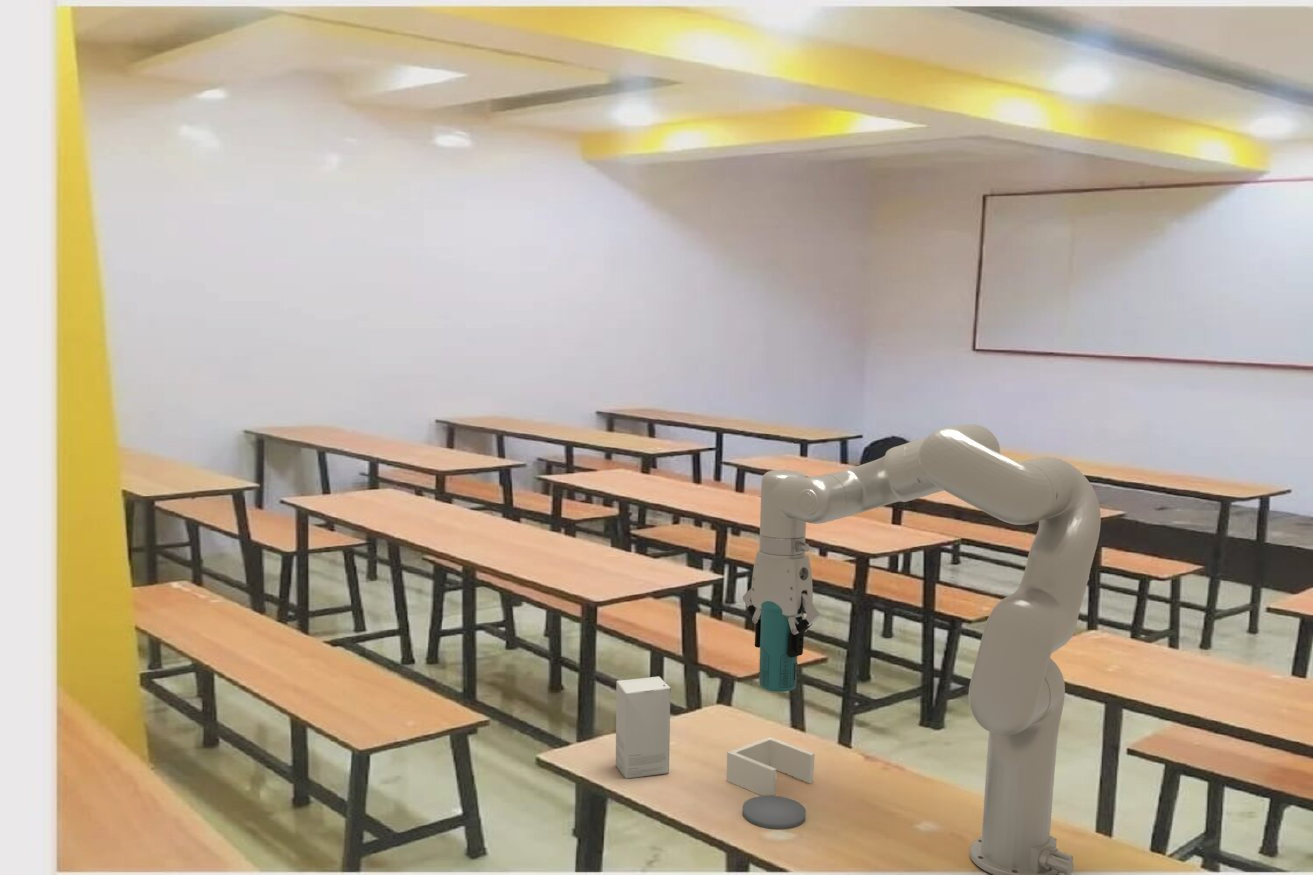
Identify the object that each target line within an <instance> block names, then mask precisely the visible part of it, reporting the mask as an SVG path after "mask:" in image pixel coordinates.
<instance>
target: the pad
mask: <svg viewBox="0 0 1313 875" xmlns="http://www.w3.org/2000/svg"><path fill="white" fill-rule="evenodd" d="M806 814H807V810H806V808H805V806H804V805H803V804H802V803H800V802H799V801H797V800H795V799H792V798H789V797H785V796H781V795H779V796H778V795H775V796H761V795H759V796H755V797H754V796H753V797H751V798H749V799H747V800H745V801H744V803H743V804H742V816H743V818H744V819H745V820H746V821H747V822H749V824H752V825H755V826H757V827H761V828H765V829H771V830H786V829H791V828H792V829H793V828H795V827H796V828H797V827H799V826H801V825H802V824H803V823H804V822H805V821H806V816H807V815H806Z"/></svg>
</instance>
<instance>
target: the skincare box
mask: <svg viewBox="0 0 1313 875" xmlns="http://www.w3.org/2000/svg"><path fill="white" fill-rule="evenodd" d="M615 684H616V685H615V686H616V688H615V689H616V691H615V692H616V698H615V699H616V700H615V701H616V704H615V707H616V708H615V766H616V767H617V769H618V770H619V772H620V773H621V774H622V775H623V777H624V778H625V779H626V780H627V779H633V778H643V777H649V776H657V775H664V774H669V773H670V743H671V741H670V738H671V737H670V734H671V730H670V729H671V691H672V688H671V686H669V685H668V684H667V683H666V681H664V680H663V679H662V677H661V676H659V675H658V676H651V677H642V678H640V677H639V678H632V679H624V680H622V679H621V680H620V679H619V680H616V683H615Z"/></svg>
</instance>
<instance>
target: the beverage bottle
mask: <svg viewBox="0 0 1313 875" xmlns="http://www.w3.org/2000/svg"><path fill="white" fill-rule="evenodd" d="M795 619H796V622H797V624H798V621H797V618H795ZM790 633H792V632H791V628H790V625H789V622H788V618H787V617H786V616H784V615H782V609H781V608H780V607H779V606H778V605H777V604H775V603H774V602H771V601H766V602H763V603H762V604H761V633H760V634H761V635H760V636H759V637H760V641H759V642H760V647H759V671H758V678H757V679H758V683H759V686H760V688H762V689H764V690H767V691H769V692H776V693H780V692H781V693H783V692H784V693H785V692H790V691H793V690H795V689H796V688H797V683H798V656H796V657H793V658H791V657H788V635H789V634H790Z"/></svg>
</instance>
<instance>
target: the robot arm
mask: <svg viewBox="0 0 1313 875" xmlns="http://www.w3.org/2000/svg"><path fill="white" fill-rule="evenodd" d="M760 489H761V490H760V517H759V522H760V525H759V548H758V549H759V550H757V552H756V555H755V558H754V564H753V569H752V576H751V577H752V578H751V588H749V590H748V591H747V592H746V593H744V594H743V596H742V600H743V602H744V603H745V605H746V607H747V610H748V613H749V614H750V615H751V617H752V619H751V620H752V623H753V624H754V626H755V630H754V632H755V633H754V647H755V648H757V649H758V648H759V647H760V642H759V641H760V637H759V636H760V635H761V634H760V633H761V604H762V603H763V602H766V601H771V602H774V603H775V604H777V605H778V606H779V607H780V608H781V609H782V615H784V616H786V617H787V618H788V622H789V625H790V628H791V632H792V633H790V634H789V635H788V657H791V658H793V657H796V656H797V657H800V656H802V655H803V653H804V641H805V637H804V636H805V632H807V631H808V629H809V628H810V627H811V626H813V625H814V623H815V622H816V621H817V620H818V619H819V618H820V612H819V610H818V609H817V608H816V607H815V605H814V602H813V600H814V598H813V596H814V595H813V576H812V575H813V574H812V567H811V561H810V557H809V555H807V554H806V552H808V551H809V550H810V544H809V543H807V542H806V536H807V535H806V528H807V523H809V524H815V525H816V524H817V525H819V524H820V525H821V524H826V523H828V522H832V521H835V520H839V519H842V518H843V519H844V518H847V517H852V516H854V515H857V514H862V513H863V512H867V511H870V510H874V509H877V508H881V507H883V506H887V505H890V504H891V505H892V504H894V503H898V502H902V503H907V502H910V501H913V500H917V499H920V498H923V497H926V496H929V495H932V494H937V493H940V492H944V491H945V492H946V493H948V494H950V495H952V496H953V497H956V498H957V499H959V500H961V501H963V502H964V503H967V504H969V505H971V506H973V507H974V508H976V509H978V510H980V511H982V512H984V513H986V514H988V515H990V516H991V517H993V518H996V519H998V520H1000V521H1002V522H1005V523H1008V524H1010V525H1011V524H1012V525H1015V526H1020V525H1021V526H1026V525H1030V524H1034V523H1037V522H1038V529H1037V531H1036V534H1035V537H1034V539H1033V541H1032V543H1031V546H1030V549H1029V551H1028V555H1027V560H1026V565H1025V569H1024V572H1023V575H1022V578H1021V582H1020V584H1019V586H1018V588H1017V590H1015V591H1014V593H1011V594H1010V595H1007V596H1005V597H1004V598H1002V599H1001V600H1000V601H998V603H997V604H995V605H994V607H993V609H992V610H991V612H990V614H989V616H988V617H987V620H986V622H985V624H984V628H983V630H982V635H981V639H980V643H979V647H978V650H977V655H976V659H975V662H974V665H973V671H972V674H971V679H970V681H969V682H970V683H969V686H968V705H969V710H970V711H971V712H970V713H971V714H972V717H973V718H974V719H975V721H976V722H977V723H978V724H979V726H981V728H983V730H985V731H987V732H988V740H987V750H986V751H987V752H986V762H985V763H986V768H985V779H984V780H985V783H984V796H983V797H984V798H983V799H984V800H983V812H982V813H983V814H982V825H981V826H982V827H981V829H982V830H981V837H979V838H977V839H976V840H974V841H973V842H972V843H971V844H970V847H969V856H970V859H971V861H972V862H973V863H974V864H975V865H976V866H977V867H978V868H980V869H981V870H983V871H984V872H986V873H989V874H991V875H1057V874H1058V873H1061V874H1063V875H1072V874H1073V871H1074V868H1075V867H1074V862H1073V861H1074V857H1073V855H1071V854H1069V853H1066V852H1062V851H1059V849H1058V848H1057V841H1058V840H1057V838H1056V837H1053V836H1051V826H1052V812H1053V799H1054V798H1053V797H1054V783H1055V771H1056V770H1055V768H1056V761H1057V760H1056V759H1057V749H1058V748H1057V747H1058V738H1059V732H1060V731H1059V730H1060V725H1061V720H1062V715H1063V710H1064V706H1065V705H1064V704H1065V703H1064V702H1065V697H1066V696H1065V695H1066V694H1065V693H1066V684H1065V679H1064V676H1063V673H1062V671H1061V669H1060V668H1059V665H1057V663H1056V662H1055V661H1054V660H1053V659H1052V658H1051V656H1052V654H1053V653H1054V652H1056V651H1058V650H1060V649H1061V648H1062V647H1063V646H1065V645H1066V644H1067V643H1068V642H1069V641H1070V640H1071V639H1072V638H1073V635H1074V634H1075V631H1076V628H1077V625H1078V619H1079V616H1080V613H1081V612H1080V611H1081V608H1082V603H1083V600H1084V596H1085V592H1086V589H1087V586H1088V581H1089V576H1090V573H1091V568H1092V566H1093V561H1094V558H1095V555H1096V550H1097V547H1098V543H1099V538H1100V534H1101V533H1100V532H1101V523H1102V522H1101V521H1102V518H1101V517H1102V516H1101V506H1100V502H1099V499H1098V496H1097V493H1096V491H1095V489H1094V487H1093V486H1092V484H1091V482H1090V481H1089V480H1088V479H1087V477H1086V476H1085V474H1083V473H1082V472H1081V471H1080V470H1079V469H1078V468H1077V467H1075V466H1074V465H1072V464H1071V463H1069V462H1067V461H1065V460H1063V459H1060V458H1056V457H1049V456H1048V457H1047V456H1046V457H1045V456H1043V457H1037V458H1032V459H1029V460H1024V461H1021V462H1019V461H1016V460H1014V459H1012V458H1010V457H1008V456H1006V455H1004V454H1002V453H1001V447H1000V444H999V441H998V439H997V437H996V436H995V435H994V433H993V432H992V431H991V430H989V429H988V428H987V427H985V426H982V425H980V424H977V423H975V424H974V423H965V424H960V425H959V424H958V425H953V426H949V427H947V426H946V427H943V428H939V429H937V430H935V431H933V432H932V433H930V434H929V435H928V436H925V437H921V438H919V439H916V440H913V441H909V442H906V443H904V444H903V443H902V444H900V445H897V446H893V447H891V448H889V449H888V450H886V452H885V455H884V456H882V457H880V458H878V459H875V460H871V461H869V462H866V463H863V464H860V465H857V466H853V467H851V468H847V469H844V470H841V471H836V472H835V471H834V472H830V473H825V474H821V475H820V474H819V475H815V476H807V477H806V475H805V474H804V473H802V472H800V471H796V470H789V469H788V470H786V469H780V470H779V469H777V470H774V469H773V470H769V471H767V472H765V473H764V474H763V476H762V478H761V488H760ZM804 614H806V616H805V615H804ZM795 618H797V621H798V624H797V622H796V619H795ZM759 649H760V648H759Z"/></svg>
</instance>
